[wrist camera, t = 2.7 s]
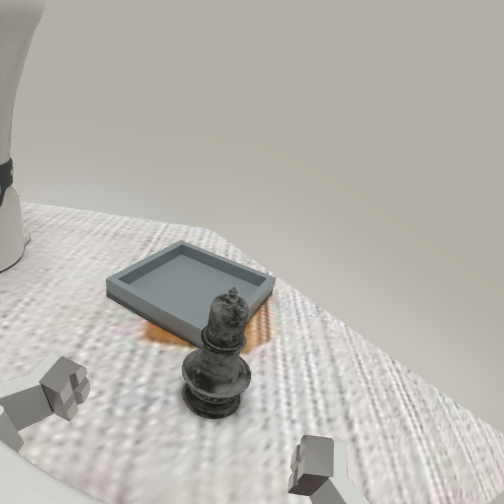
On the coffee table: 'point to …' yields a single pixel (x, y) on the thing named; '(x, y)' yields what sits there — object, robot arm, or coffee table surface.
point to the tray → (185, 288)
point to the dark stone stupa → (218, 360)
